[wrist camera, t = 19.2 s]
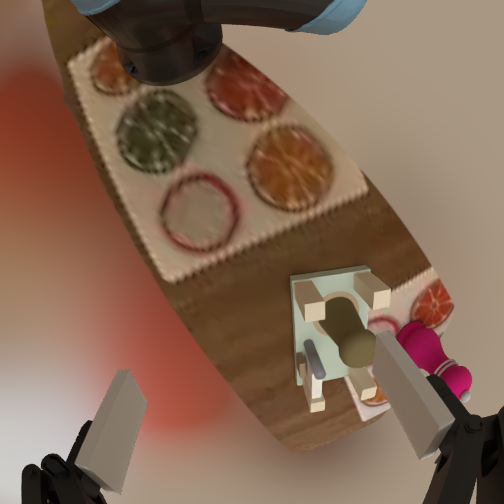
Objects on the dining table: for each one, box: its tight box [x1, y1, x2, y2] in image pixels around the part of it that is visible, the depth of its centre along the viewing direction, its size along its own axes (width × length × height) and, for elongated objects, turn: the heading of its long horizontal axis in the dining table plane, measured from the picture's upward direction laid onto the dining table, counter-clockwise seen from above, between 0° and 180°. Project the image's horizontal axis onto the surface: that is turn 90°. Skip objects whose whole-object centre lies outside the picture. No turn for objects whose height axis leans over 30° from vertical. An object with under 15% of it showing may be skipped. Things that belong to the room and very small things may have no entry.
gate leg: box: [303, 350, 325, 412], centre depth 39 cm, size 8×2×7 cm, turn 7°
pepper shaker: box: [318, 297, 376, 368], centre depth 35 cm, size 6×6×11 cm
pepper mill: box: [397, 321, 472, 402], centre depth 35 cm, size 7×7×20 cm
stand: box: [290, 265, 391, 400], centre depth 38 cm, size 20×12×10 cm, turn 7°
